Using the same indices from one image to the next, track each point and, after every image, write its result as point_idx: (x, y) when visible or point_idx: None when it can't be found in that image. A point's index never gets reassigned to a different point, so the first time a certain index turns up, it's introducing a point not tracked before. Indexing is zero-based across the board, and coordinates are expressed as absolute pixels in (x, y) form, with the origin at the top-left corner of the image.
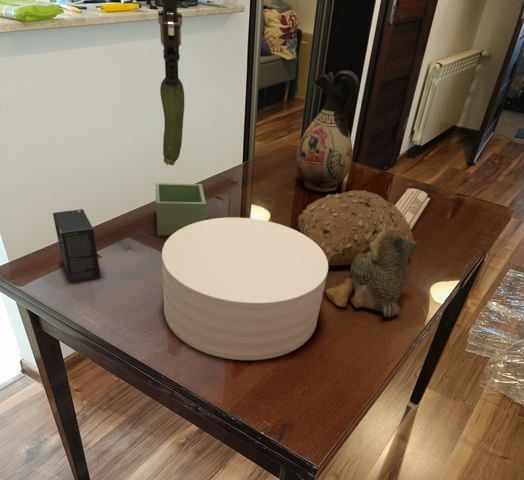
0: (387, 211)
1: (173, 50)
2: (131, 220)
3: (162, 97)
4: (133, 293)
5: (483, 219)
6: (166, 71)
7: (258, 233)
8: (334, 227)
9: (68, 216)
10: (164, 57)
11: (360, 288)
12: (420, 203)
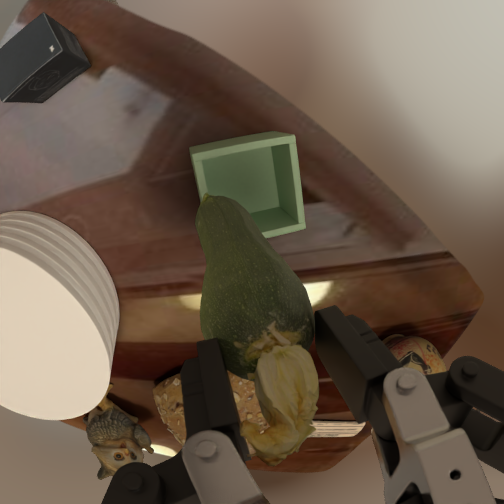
0: None
1: (385, 434)
2: (239, 90)
3: (221, 274)
4: (18, 163)
5: (306, 465)
6: (204, 388)
7: (65, 363)
8: (178, 418)
9: (30, 42)
10: (130, 471)
11: (91, 416)
12: (330, 436)
